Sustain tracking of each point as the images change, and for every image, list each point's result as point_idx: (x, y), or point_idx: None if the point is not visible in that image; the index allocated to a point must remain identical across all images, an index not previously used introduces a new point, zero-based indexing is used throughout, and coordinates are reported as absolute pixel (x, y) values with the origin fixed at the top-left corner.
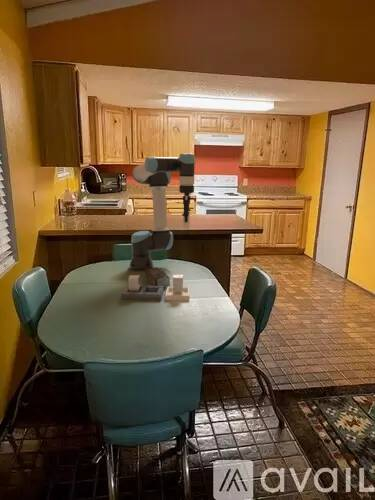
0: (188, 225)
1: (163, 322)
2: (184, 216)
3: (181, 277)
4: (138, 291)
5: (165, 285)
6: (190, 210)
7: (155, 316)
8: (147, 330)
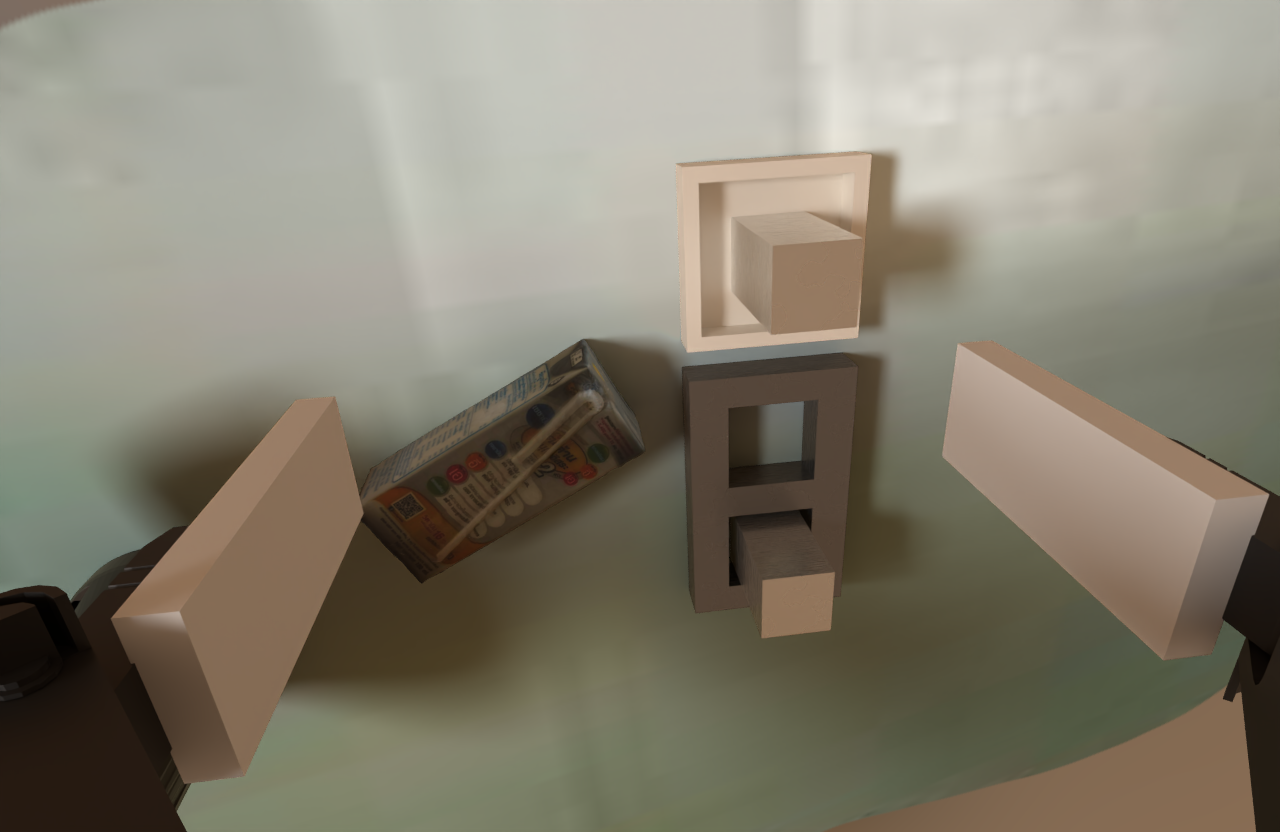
0: (1038, 371)
1: (1156, 284)
2: (1200, 608)
3: (847, 251)
4: (802, 517)
5: (603, 371)
6: (28, 609)
7: (1074, 343)
8: (1225, 351)
